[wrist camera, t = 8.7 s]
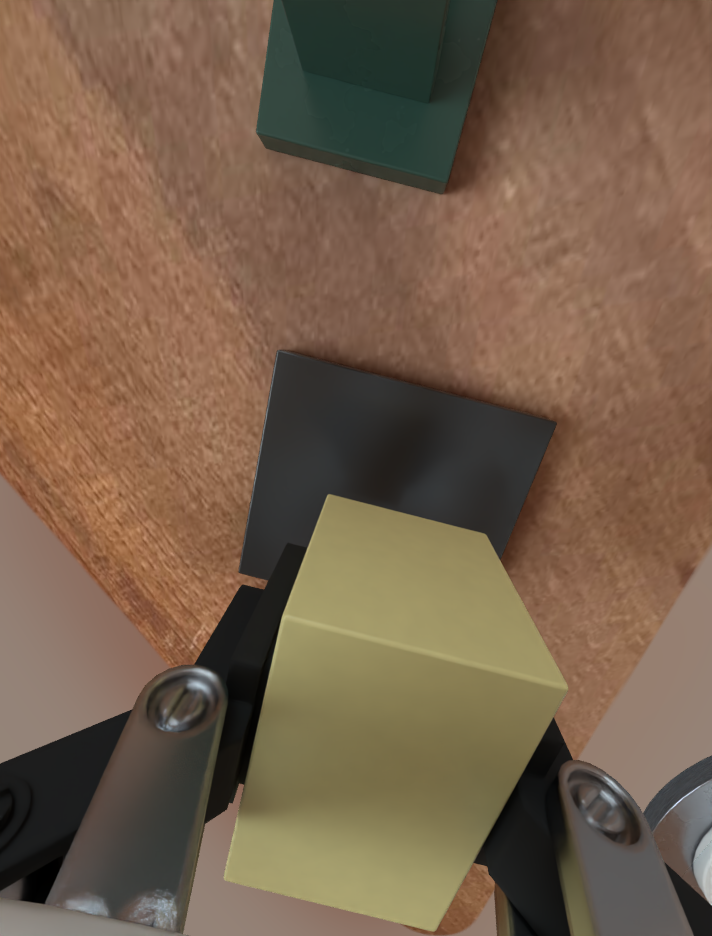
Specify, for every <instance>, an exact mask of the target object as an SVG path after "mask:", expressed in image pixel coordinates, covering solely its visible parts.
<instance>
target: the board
mask: <svg viewBox="0 0 712 936" xmlns="http://www.w3.org/2000/svg"><path fill="white" fill-rule="evenodd" d="M556 425H557V422H555V421H553V420H551V419H549V418H545V417H541V416H538V415H534V414H530V413H526V412H522V411H518V410H514V409H511V408H507V407H503V406H499V405H495V404H491V403H488V402H484V401H480V400H476V399H472V398H468V397H464V396H461V395H457V394H453V393H449V392H445V391H441V390H437V389H434V388H430V387H426V386H422V385H418V384H414V383H410V382H407V381H403V380H399V379H395V378H391V377H387V376H383V375H380V374H376V373H372V372H368V371H364V370H360V369H356V368H353V367H349V366H345V365H341V364H337V363H333V362H329V361H326V360H322V359H318V358H314V357H310V356H306V355H303V354H299V353H295V352H291V351H287V350H277V353H276V359H275V364H274V370H273V376H272V382H271V387H270V393H269V399H268V405H267V410H266V416H265V422H264V428H263V433H262V439H261V445H260V451H259V456H258V462H257V468H256V473H255V479H254V485H253V491H252V496H251V502H250V508H249V514H248V519H247V525H246V531H245V537H244V542H243V548H242V554H241V560H240V565H239V573H241V574H245V575H249V576H253V577H256V578H260V579H264V580H268V581H269V579H270V577H271V575H272V573H273V571H274V569H275V567H276V565H277V562H278V560H279V558H280V556H281V554H282V552H283V550H284V548H285V546H286V544H287V543H291V544H295V545H299V546H303V547H307V548H308V546H309V543H310V540H311V538H312V535H313V532H314V530H315V527H316V524H317V522H318V519H319V516H320V514H321V511H322V508H323V506H324V503H325V500H326V497H327V495H328V494H331V495H335V496H339V497H343V498H347V499H350V500H354V501H358V502H362V503H366V504H370V505H374V506H378V507H382V508H386V509H390V510H394V511H397V512H401V513H405V514H409V515H413V516H417V517H421V518H425V519H429V520H433V521H437V522H441V523H444V524H448V525H452V526H456V527H460V528H464V529H468V530H472V531H476V532H480V533H484V534H486V535H487V537H488V539H489V541H490V543H491V545H492V546H493V548H494V550H495V552H496V554H497V556H498V557H499V559H501V557H502V555H503V552H504V550H505V547H506V545H507V543H508V540H509V538H510V535H511V533H512V531H513V528H514V526H515V523H516V521H517V519H518V516H519V514H520V511H521V509H522V507H523V504H524V502H525V499H526V497H527V495H528V492H529V490H530V487H531V485H532V483H533V480H534V478H535V475H536V473H537V471H538V468H539V466H540V463H541V461H542V459H543V456H544V454H545V451H546V449H547V447H548V444H549V442H550V439H551V437H552V435H553V432H554V430H555V427H556Z"/></svg>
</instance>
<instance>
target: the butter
mask: <svg viewBox="0 0 712 936" xmlns="http://www.w3.org/2000/svg"><path fill="white" fill-rule="evenodd" d="M567 692H568V685H567V683H566V681H565V679H564V678H563V676H562V674H561V672H560V670H559V668H558V666H557V665H556V663H555V661H554V659H553V657H552V655H551V654H550V652H549V650H548V648H547V646H546V644H545V642H544V641H543V639H542V637H541V635H540V633H539V631H538V630H537V628H536V626H535V624H534V622H533V620H532V618H531V617H530V615H529V613H528V611H527V609H526V607H525V606H524V604H523V602H522V600H521V598H520V596H519V594H518V593H517V591H516V589H515V587H514V585H513V583H512V581H511V580H510V578H509V576H508V574H507V572H506V570H505V569H504V567H503V565H502V563H501V561H500V559H499V557H498V556H497V554H496V552H495V550H494V548H493V546H492V545H491V543H490V541H489V539H488V537H487V535H486V534H484V533H480V532H476V531H472V530H468V529H464V528H460V527H456V526H452V525H448V524H444V523H441V522H437V521H433V520H429V519H425V518H421V517H417V516H413V515H409V514H405V513H401V512H397V511H394V510H390V509H386V508H382V507H378V506H374V505H370V504H366V503H362V502H358V501H354V500H350V499H347V498H343V497H339V496H335V495H331V494H328V495H327V497H326V500H325V503H324V506H323V508H322V511H321V514H320V516H319V519H318V522H317V524H316V527H315V530H314V532H313V535H312V538H311V540H310V543H309V546H308V548H307V551H306V554H305V556H304V559H303V562H302V564H301V567H300V570H299V572H298V575H297V578H296V580H295V583H294V586H293V588H292V591H291V594H290V596H289V599H288V602H287V604H286V607H285V610H284V612H283V615H282V619H281V623H280V628H279V632H278V637H277V641H276V645H275V650H274V654H273V659H272V663H271V668H270V672H269V677H268V681H267V686H266V690H265V694H264V699H263V703H262V708H261V712H260V717H259V721H258V726H257V730H256V735H255V739H254V744H253V748H252V752H251V757H250V761H249V766H248V770H247V775H246V779H245V784H244V788H243V793H242V797H241V802H240V806H239V810H238V815H237V820H236V824H235V828H234V833H233V837H232V842H231V846H230V850H229V855H228V859H227V864H226V868H225V873H224V880H226V881H229V882H233V883H237V884H241V885H245V886H249V887H254V888H257V889H261V890H266V891H270V892H274V893H278V894H282V895H286V896H290V897H294V898H298V899H303V900H307V901H311V902H315V903H319V904H323V905H327V906H332V907H335V908H340V909H344V910H347V911H352V912H356V913H360V914H364V915H368V916H372V917H376V918H380V919H384V920H388V921H392V922H396V923H400V924H405V925H409V926H413V927H417V928H421V929H425V930H429V931H436V930H437V928H438V926H439V924H440V922H441V920H442V919H443V917H444V915H445V913H446V911H447V910H448V908H449V906H450V904H451V902H452V900H453V899H454V897H455V895H456V893H457V891H458V890H459V888H460V886H461V884H462V882H463V881H464V879H465V877H466V875H467V873H468V871H469V870H470V868H471V866H472V864H473V862H474V861H475V859H476V857H477V855H478V853H479V851H480V850H481V848H482V846H483V844H484V842H485V841H486V839H487V837H488V835H489V833H490V831H491V830H492V828H493V826H494V824H495V822H496V821H497V819H498V817H499V815H500V813H501V811H502V810H503V808H504V806H505V804H506V802H507V801H508V799H509V797H510V795H511V793H512V792H513V790H514V788H515V786H516V784H517V782H518V781H519V779H520V777H521V775H522V773H523V772H524V770H525V768H526V766H527V764H528V762H529V761H530V759H531V757H532V755H533V753H534V752H535V750H536V748H537V746H538V744H539V742H540V741H541V739H542V737H543V735H544V733H545V732H546V730H547V728H548V726H549V724H550V722H551V721H552V719H553V717H554V715H555V713H556V712H557V710H558V708H559V706H560V704H561V703H562V701H563V699H564V697H565V695H566V693H567Z"/></svg>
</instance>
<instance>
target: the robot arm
mask: <svg viewBox="0 0 712 936" xmlns="http://www.w3.org/2000/svg"><path fill="white" fill-rule="evenodd" d="M306 551H307V547H303V546H299V545H295V544H291V543H287V544H286V546H285V548H284V550H283V552H282V554H281V556H280V558H279V560H278V562H277V565H276V567H275V569H274V571H273V573H272V575H271V577H270V579H269V581H268V583H267V585H266V587H265V589H264V590H263V589H259V588H255V587H251V586H247V585H242V586H241V587H240V588H239V590H238V591H237V593H236V595H235V596H234V598H233V600H232V602H231V603H230V605H229V607H228V608H227V610H226V612H225V613H224V615H223V617H222V618H221V620H220V622H219V624H218V625H217V627H216V629H215V630H214V632H213V634H212V635H211V637H210V639H209V640H208V642H207V644H206V645H205V647H204V649H203V651H202V652H201V654H200V656H199V657H198V659H197V661H196V662H195V664H194V665H181V666H177V667H174V668H170V669H168V670H166V671H164V672H162V673H160V674H158V675H156V676H155V677H154V678H153V679H152V680H151V681H150V682H148V683H147V684H146V685H145V687H144V688H143V690H142V692H141V693H140V695H139V696H138V698H137V700H136V703H135V705H134V707H133V709H132V710H130V711H127V712H125V713H122V714H120V715H118V716H115V717H113V718H110V719H108V720H105V721H103V722H100V723H98V724H95V725H93V726H91V727H88V728H86V729H83V730H81V731H79V732H76V733H74V734H71V735H69V736H66V737H64V738H62V739H59V740H57V741H54V742H52V743H49V744H47V745H44V746H42V747H39V748H37V749H35V750H32V751H30V752H28V753H25V754H22V755H20V756H18V757H16V758H13V759H10V760H8V761H5V762H3V763H1V764H0V936H188V935H184V934H183V931H184V926H185V921H186V916H187V911H188V906H189V901H190V896H191V892H192V887H193V882H194V877H195V872H196V866H197V861H198V857H199V852H200V847H201V842H202V837H203V832H204V827H205V824H206V823H207V822H209V821H210V820H211V819H213V818H215V817H216V816H218V815H219V814H221V813H222V812H224V811H225V810H227V808H228V804H229V803H233V801H234V798H235V794H236V791H237V788H238V785H239V783H240V784H245V779H246V775H247V770H248V766H249V761H250V757H251V752H252V748H253V744H254V739H255V735H256V730H257V726H258V721H259V717H260V712H261V708H262V703H263V699H264V694H265V690H266V686H267V681H268V677H269V672H270V668H271V663H272V659H273V654H274V650H275V645H276V641H277V637H278V632H279V628H280V623H281V619H282V615H283V612H284V610H285V607H286V604H287V602H288V599H289V596H290V594H291V591H292V588H293V586H294V583H295V580H296V578H297V575H298V572H299V570H300V567H301V564H302V562H303V559H304V556H305V554H306ZM473 863H476V864H480V865H484V866H487V867H488V872H489V875H490V876H491V877H492V878H493V880H494V881H495V891H494V895H495V910H496V927H497V936H712V827H711V829H710V830H709V831H708V832H707V833H706V834H705V835H704V836H703V838H702V840H701V842H700V843H699V845H698V847H697V849H696V853H695V857H694V861H693V867H694V875H695V878H696V880H697V883H698V885H699V887H700V888H701V890H702V892H703V893H704V895H705V897H706V898H707V900H708V902H709V903H708V902H707V901H706V900H705V899H704V898H703V897H702V896H701V895H700V894H699V893H697V892H696V891H695V890H694V889H693V888H692V887H691V886H690V885H689V884H688V883H687V882H685V881H684V880H683V879H682V878H681V877H680V876H679V875H678V874H677V873H676V872H675V871H673V870H672V869H671V868H670V867H669V866H668V865H667V864H666V863H665V862H664V861H663V859H662V856H661V854H660V851H659V849H658V847H657V844H656V842H655V839H654V837H653V834H652V832H651V829H650V827H649V825H648V822H647V820H646V819H645V817H644V815H643V813H642V811H641V809H640V807H639V806H638V805H637V804H636V802H635V801H634V799H633V798H632V797H631V796H630V794H629V793H628V792H627V791H626V790H625V789H624V788H623V787H622V786H621V785H620V784H619V783H618V782H617V781H616V780H615V779H614V778H612V777H611V776H609V775H608V774H606V772H604V771H603V770H601V769H600V768H598V767H596V766H594V765H592V764H590V763H587V762H584V761H580V760H573V759H572V756H571V754H570V752H569V750H568V748H567V745H566V743H565V741H564V739H563V737H562V735H561V732H560V730H559V728H558V726H557V724H556V721H555V719H554V717H553V719H552V721H551V722H550V724H549V726H548V728H547V730H546V732H545V733H544V735H543V737H542V739H541V741H540V742H539V744H538V746H537V748H536V750H535V752H534V753H533V755H532V757H531V759H530V761H529V762H528V764H527V766H526V768H525V770H524V772H523V773H522V775H521V777H520V779H519V781H518V782H517V784H516V786H515V788H514V790H513V792H512V793H511V795H510V797H509V799H508V801H507V802H506V804H505V806H504V808H503V810H502V811H501V813H500V815H499V817H498V819H497V821H496V822H495V824H494V826H493V828H492V830H491V831H490V833H489V835H488V837H487V839H486V841H485V842H484V844H483V846H482V848H481V850H480V851H479V853H478V855H477V857H476V859H475V861H474V862H473Z"/></svg>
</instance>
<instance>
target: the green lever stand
mask: <svg viewBox="0 0 712 936" xmlns="http://www.w3.org/2000/svg"><path fill="white" fill-rule="evenodd" d="M497 1H498V0H274V2H273V10H272V17H271V25H270V32H269V39H268V47H267V54H266V62H265V69H264V76H263V84H262V91H261V99H260V106H259V114H258V121H257V128H256V133H257V135H258V136H259V138H260V140H261V141H262V143H263V144H264V146H265V148H267V149H270V150H274V151H278V152H282V153H286V154H289V155H293V156H297V157H301V158H305V159H309V160H312V161H316V162H320V163H324V164H328V165H332V166H335V167H339V168H343V169H347V170H351V171H354V172H358V173H362V174H366V175H370V176H374V177H377V178H381V179H385V180H389V181H393V182H397V183H400V184H404V185H408V186H412V187H416V188H420V189H423V190H427V191H431V192H435V193H439V194H443V193H444V191H445V189H446V186H447V183H448V181H449V177H450V173H451V170H452V166H453V162H454V159H455V155H456V151H457V148H458V144H459V140H460V137H461V133H462V129H463V126H464V122H465V118H466V115H467V111H468V107H469V104H470V100H471V96H472V92H473V89H474V85H475V81H476V78H477V74H478V70H479V67H480V63H481V59H482V56H483V52H484V48H485V45H486V41H487V37H488V34H489V30H490V26H491V23H492V19H493V15H494V12H495V8H496V4H497Z"/></svg>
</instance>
